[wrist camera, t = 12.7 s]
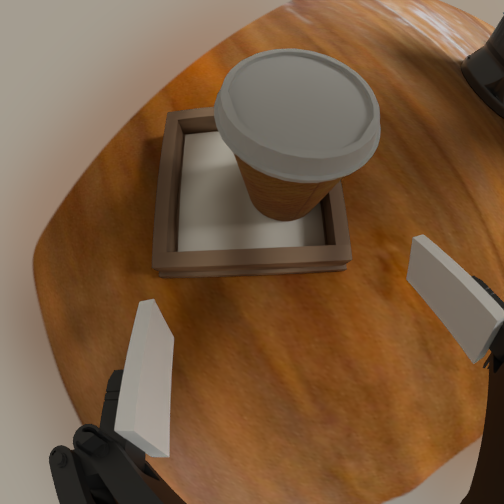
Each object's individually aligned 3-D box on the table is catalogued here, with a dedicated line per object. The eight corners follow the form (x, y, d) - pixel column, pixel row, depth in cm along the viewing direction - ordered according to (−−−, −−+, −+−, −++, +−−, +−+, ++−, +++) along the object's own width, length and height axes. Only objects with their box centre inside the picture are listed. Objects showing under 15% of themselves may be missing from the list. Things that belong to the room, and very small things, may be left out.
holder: (320, 123, 28) (326, 103, 24) (343, 270, 24) (356, 263, 21) (173, 130, 28) (165, 110, 24) (162, 278, 24) (148, 271, 21)
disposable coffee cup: (244, 136, 26) (239, 36, 14) (340, 158, 25) (384, 68, 13) (216, 225, 24) (184, 145, 12) (326, 252, 23) (388, 192, 11)
